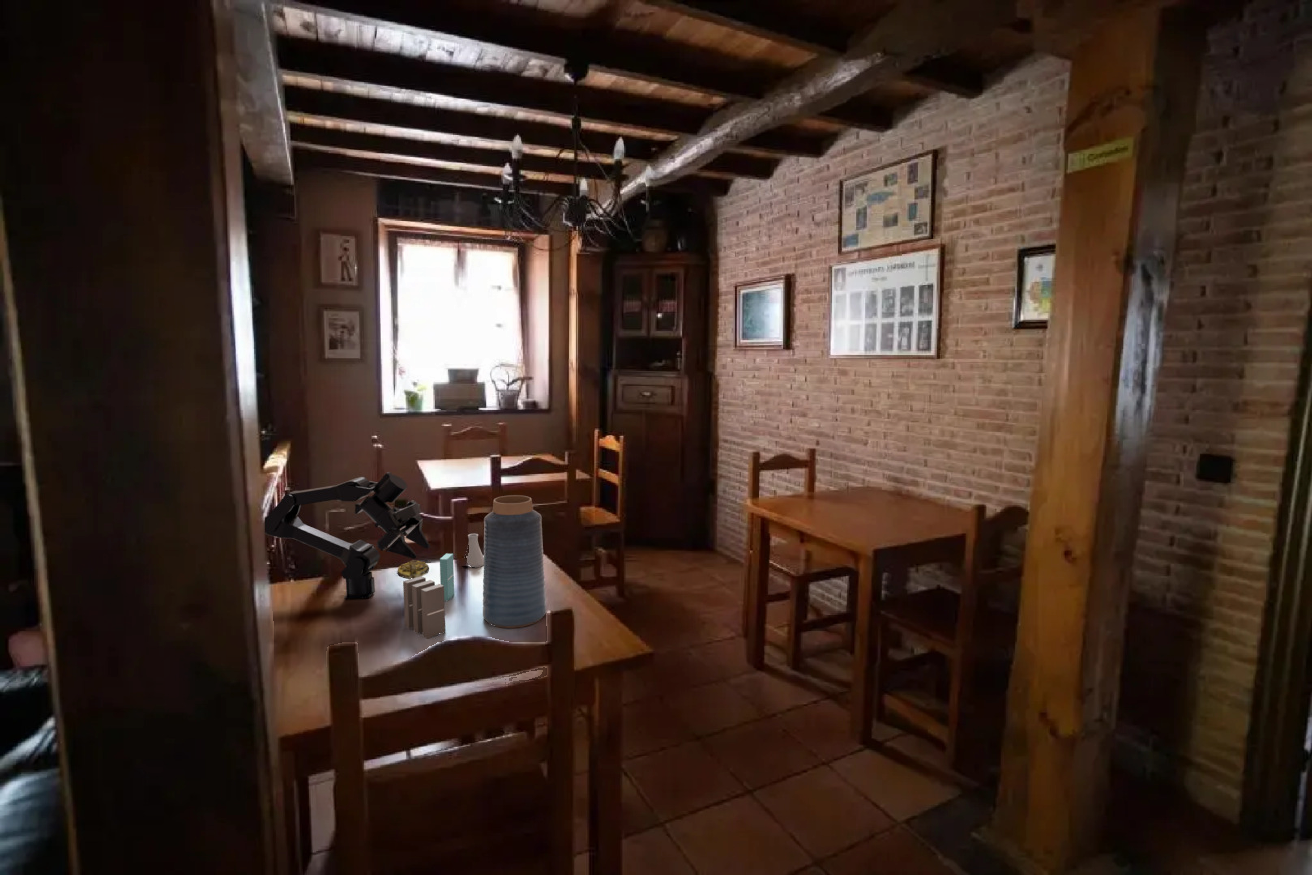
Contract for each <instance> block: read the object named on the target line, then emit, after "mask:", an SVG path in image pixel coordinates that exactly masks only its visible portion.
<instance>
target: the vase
mask: <svg viewBox="0 0 1312 875" xmlns="http://www.w3.org/2000/svg"><path fill="white" fill-rule="evenodd" d="M542 521H543V520H542V515H541V513H539V512H538V511H536V510H534V506H533V500H532V498H531V497H529V496H526V495H520V494H519V495H517V494H516V495H515V494H514V495H512V494H511V495H504V496H503V495H502V496H498V497H496V498H494V499H493V504H492V511H490V512H489V513H488V514H487V515H485V516H484V518H483V524H484V525H483V528H484V529H483V541H484V542H483V557H484V565H483V579H482V582H483V584H482V586H483V587H482V617H483V619H484V620H485V621H486V623H488V624H489V625H491V624H492V625H491V626H493V625H495V626H494V627H497V626H498V628H505V629H513V628H514V629H515V628H522V627H527V626H531V625H533V624H536V623H537V622H539V621H540V620H541V619H542V618H543V617H544V616H545V614H546V613H547V602H546V597H547V596H546V587H545V586H546V581H545V578H546V577H545V567H544V566H545V565H544V547H543V526H542V524H543V523H542Z"/></svg>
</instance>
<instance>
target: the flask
mask: <svg viewBox="0 0 1312 875" xmlns="http://www.w3.org/2000/svg"><path fill="white" fill-rule="evenodd" d="M478 537H479V534H478V533H470V534H468V535H467V538H468V545H469V553H468V556H466V558H467V563H468V565H470V566H471V567H470V568H472V567H475V569H476V568H479V567H484V554H483V553H482V551H481V548H480V545H479V541H478V540H479V539H478ZM468 545H467V546H468Z"/></svg>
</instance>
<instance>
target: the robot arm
mask: <svg viewBox="0 0 1312 875" xmlns="http://www.w3.org/2000/svg"><path fill="white" fill-rule="evenodd" d="M407 484H408V483H407V482H406V481H405V480H404V478H403V477H400V476H398V475H397V474H393V473H392V472H391V471H388V472H386V473H385V474H384V475H383V476H382V478H381V479H380V480H379V481H378V482H376V481H371V480H368V479H367V478H366V477H364V476H358V477H356V478H353V479H350V480H348V481H345V482H342V483H339V484H337V485H336V484H335V485H330V486H323V487H316V488H309V489H304V490H293V491H291V492H288V493H286V494H284V495H283V497H282V498H281V500H280V501H279V502H278V504H277V505H276V506H275V507H274V508H273V509H272V510H271V511H270V513H269V514H268V515H267V516H265V517H264V518H265V533H264V534H265V535H267V536H271V537H274V538H279V539H293V540H296V541H298V542H300V543H302V544H305V545H308V546H309V547H312V548H314V549H316V550H319V551H321V552H323V553H327V554H329V555H331V556H334V557H336V558H338V559H340V561H341V562H342V563H343V564H344V565H345V567H344V568H343V569H342V570H341V572H340V574H341V576H342V579H344V580H345V590H346V595H345V596H344V599H345V600H347V599H348V600H350V599H351V600H353V599H354V600H356V599H369V598H370V597H371V596H372V594H374V592H375V590H376V588H375V587H376V585H375V577H374V576H373V570H374V569H375V566H376V565H377V564H378V563H379V561H380V558H381V556H380V552H379V550H380V551H381V552H384V551H385V552H386V553H387V552H389V553H393V554H397V555H400V556H403V557H405V558H409V559H412V560H416V559H417V557H418V556H417V554H416V552H415V551H414V550H413V549H412V548H411V547H410V545H409V544H408V543H407V542H406V539H407V540H409V541H411V542H413V543H414V544H416V545H418V546H419V547H422V548H424V549H426V550H429V549H430V547H431V546H430V544H429V542H428V539H427V537H426V536H425V534H424V531H423V530H422V528H423V520H424V517H422V516H421V514H422V512H421V509H420V508H421V504H419V503H418V501H417V502H416V500H410V501H408V502H407V503H406V506H405V507H404V508H401V509H399V508H398V507H396V506H394V507H393V508H392V507H391V506H390V505H389V504H388V503H391V504H392V503H395V501H396V500H397V499H398V498H399V497H400V496H401V495H402V494H403V493H404V492H405V491H406V490H407V489H408V485H407ZM370 494H372V496H369V495H370ZM363 498H364V499H363ZM361 499H363V500H362V501H361V502H358V501H359V500H361ZM329 501H338V502H356V501H357V503H355V504H354V507H355V508H354V515H357V514H359V513H362V512H364V513H366V515H367V516H369V518H370V519H371V520H372V521H373V522H374V523H375V524H373V526H374V527H375V528H381V529H382V530H383V531H384V532H385V533H383V535H382V536H381V537H380V538H379V539H378V540H377V541H376V547H377V548H378V549H377V548H376V547H374V544H371V543H367V541H364V540H363V539H359V540H357V541H356V542H354V543H352V542H351V543H350V542H347V541H345V540H342V539H340V538H338V537H336V536H333V535H330V534H329V533H326V532H323V531H322V530H319V529H317V528H314V527H311V526H309V525H307V524H305V523H303V521H302V519H301V518H300V517H299V516H298V515H299V513H300V510H301V506H304V505H310V504H315V503H317V504H318V503H323V502H329Z"/></svg>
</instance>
